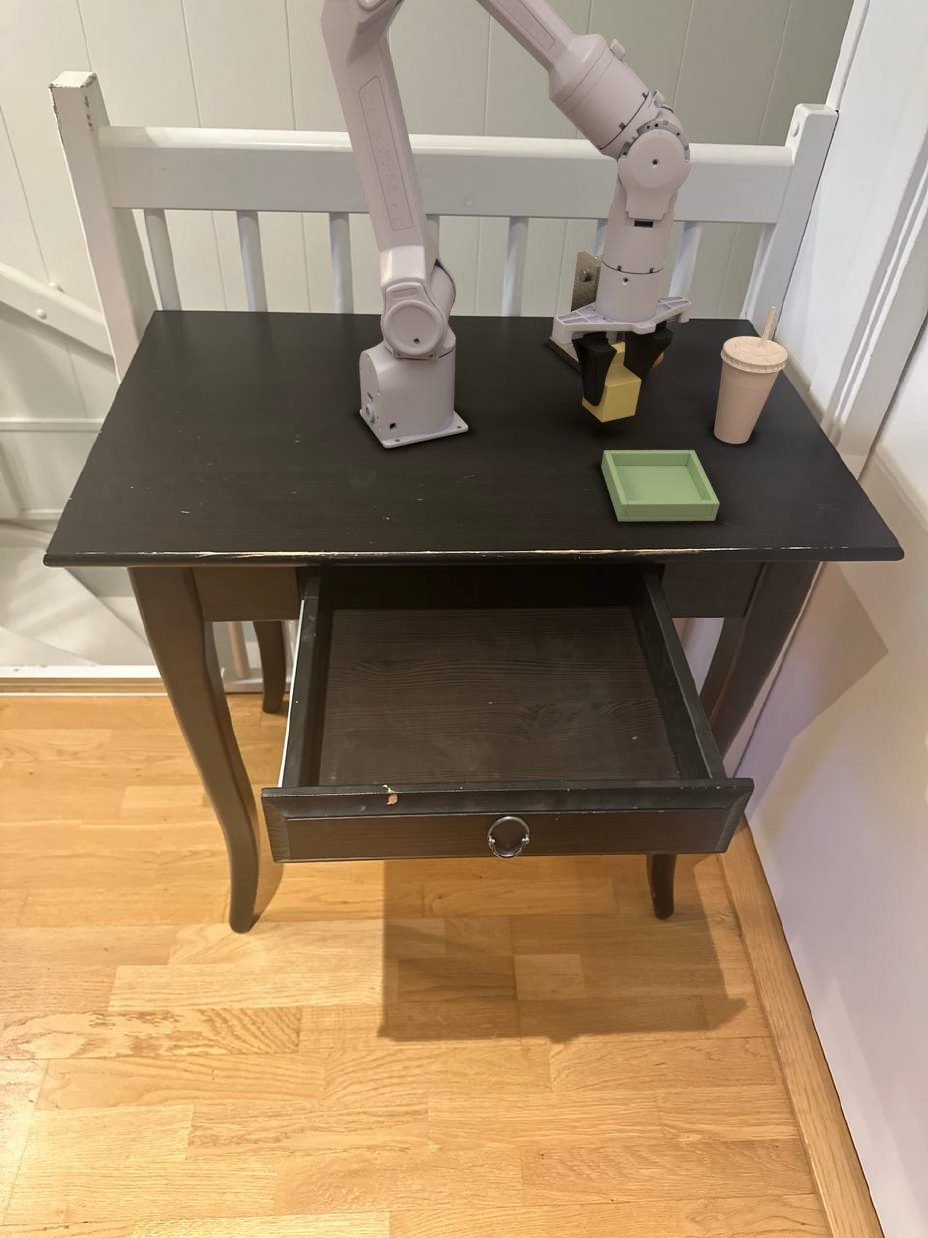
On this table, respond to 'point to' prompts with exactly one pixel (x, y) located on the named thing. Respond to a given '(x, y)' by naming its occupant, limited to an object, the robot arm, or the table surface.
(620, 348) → the butter block
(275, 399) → the table surface
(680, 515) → the dish
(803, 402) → the table surface
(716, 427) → the smoothie
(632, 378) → the yellow cube
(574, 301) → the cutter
